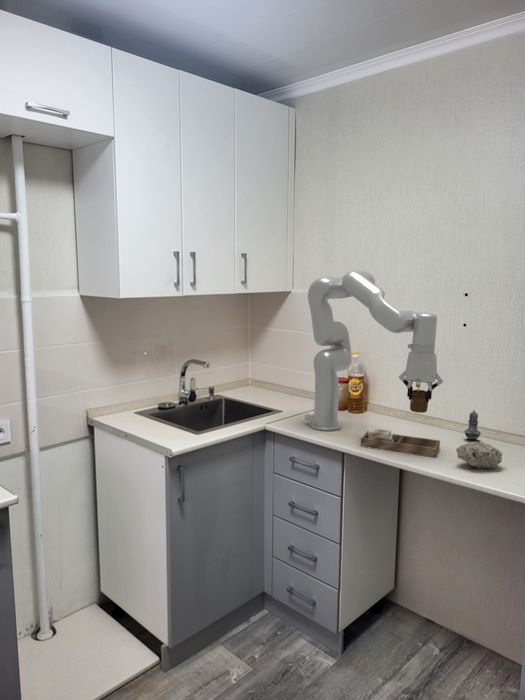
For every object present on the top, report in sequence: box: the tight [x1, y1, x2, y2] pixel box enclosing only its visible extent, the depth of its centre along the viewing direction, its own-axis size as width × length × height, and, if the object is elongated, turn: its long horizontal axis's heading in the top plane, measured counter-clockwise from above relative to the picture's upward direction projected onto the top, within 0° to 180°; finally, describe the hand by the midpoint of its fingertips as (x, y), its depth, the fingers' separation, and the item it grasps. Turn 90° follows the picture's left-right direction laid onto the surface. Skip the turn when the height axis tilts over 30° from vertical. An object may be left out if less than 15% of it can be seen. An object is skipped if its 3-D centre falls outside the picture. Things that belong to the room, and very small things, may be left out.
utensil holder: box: [409, 379, 429, 414], centre depth 189 cm, size 6×6×12 cm
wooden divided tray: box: [360, 430, 441, 458], centre depth 193 cm, size 26×11×3 cm, turn 66°
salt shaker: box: [463, 409, 481, 443], centre depth 203 cm, size 6×6×12 cm
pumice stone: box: [456, 441, 503, 469], centre depth 175 cm, size 14×12×8 cm
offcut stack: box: [367, 427, 394, 442], centre depth 196 cm, size 9×7×5 cm
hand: (419, 399), depth 189 cm, fingers closed on utensil holder, 5 cm apart
